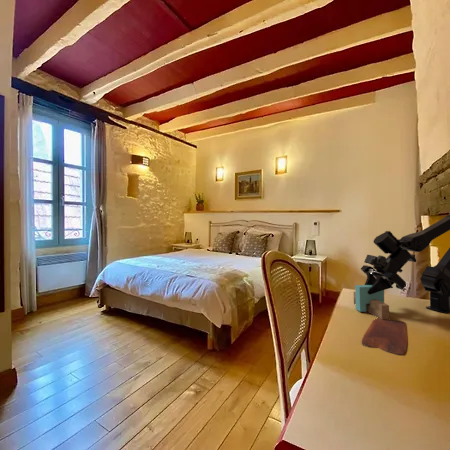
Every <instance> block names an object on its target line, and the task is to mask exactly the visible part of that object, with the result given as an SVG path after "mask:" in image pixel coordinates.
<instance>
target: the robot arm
mask: <svg viewBox="0 0 450 450" xmlns="http://www.w3.org/2000/svg"><path fill="white" fill-rule="evenodd" d="M448 231H450V213H449V214H447V215H446V216H445V217H443V218H441V219H440V220H438V221H436V222H435V223H433V224H432V225H429V226H428V227H426V228H424V229H422V230H421V231H417V232H413V233H409V234H407V235H403V236H402V237H401V238H400V239H398V238H397V237H396V236H395V235H394V234H393V233H392V232H391V231H390V230H385V231H384V232H383V233H381V234H379V235H376V236H375V238H374V239H373V244H374V245H375V246H376V247H377V248H379V249H380V251H382V253H384V254H388V256H387V257H386V256H384V255H381V254H380V255H376V256H375V255H372V254H371V255H370V254H366V256H365V260H364V263H365V264H366V265H365V264H364V265H363V266H361V268H360V270H361V271H362V272H363V273H364V274H365V275H366V280H365V282H364V285H372V287H371V288H370V289H369V291H368V294H369V295H371V294H373V293H376V292H379V291H382V290H384V291H387V290H388V289H393V288H394V284H395V288H396V289H397V290H398V289H399V290H404V289H406V285H407V283H406V281H405V280H404V279H403V278H402V277H401V276H400V275H399V274H398V273H403V271H404V270H403V269H402V268H403V267H404V266H405V265H406V264H407V263H408V262H412V263H417V259H416V254H413V253H410V252H415V253H420V252H423V251H425V249H427V248H428V247H429V246H430V245H431V242H433V240H435V239H436V238H438V237H440V236H442V235H444V234H446V233H447V232H448ZM367 264H369V265H367ZM370 265H371V266H370ZM372 266H373V267H372ZM419 279H420V283H421V285H422V286H423V289H424V291H426V292H430V293H429V295H430V296H429V305H428V306H425V309H428V310H432V311H435V312H439V313H443V314H449V313H450V247H449V248H448V249H447V251H446V252H445V253H444V255H443V256H442V257H441V259H440V260H439V261H438V262H437V264H436V265H434V266H431V265H430V266H429V265H427V266H426V267H425V269H424V270H423V272H421V273H420V278H419Z"/></svg>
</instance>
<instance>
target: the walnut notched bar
mask: <svg viewBox="0 0 450 450" xmlns="http://www.w3.org/2000/svg"><path fill="white" fill-rule="evenodd" d="M353 304H354V305H355V304H356V297H355V291H353ZM367 311H368V312H367ZM366 312H367V313H369V314H370V313H371V314H370V315H372V316H374V317H375V316H376V317H375V318H377V317H378V318H379V319H382V320H389V319H390V305H389V304H387V303H385V302H384V303H383V302H381V301H379V300H370V303H366Z"/></svg>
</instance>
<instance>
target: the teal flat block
mask: <svg viewBox="0 0 450 450" xmlns="http://www.w3.org/2000/svg"><path fill="white" fill-rule="evenodd" d="M371 287H372V285H365V284H359V285H358V284H355V286H354V288H355V289H354V290H355V291H354V292H355V297H356V305H355V310H357V311H358V312H360V313H364V312H365V313H367V311H366V303H370V300H379V301H381V302H383V303H385V290H382V291H379V292H376V293H373V294H371V295H369V294H368V291H369V289H370V288H371Z"/></svg>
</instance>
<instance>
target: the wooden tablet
mask: <svg viewBox="0 0 450 450" xmlns="http://www.w3.org/2000/svg"><path fill="white" fill-rule="evenodd" d="M376 318H377V317H376ZM376 318H375V320H374V319H373V320H372V321H371V323H370V325H369V327H368V328H367V329H366V331H365V332H364V335H363V337H362V339H361V345H362V346H363V347H366V348H369V349H370V348H371V349H379V350H381V351H383V352H386V353H389V354H393V355H397V356H404V355H405V353H406V351H407V348H408V329H407V328H408V327H407V324H406V322H405V321H401V320H397V319H390V320H382V319H379V318H377V319H376Z"/></svg>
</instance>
